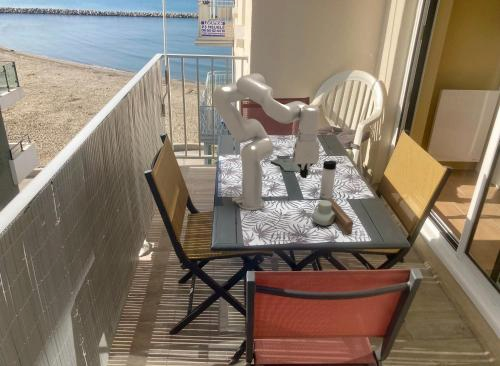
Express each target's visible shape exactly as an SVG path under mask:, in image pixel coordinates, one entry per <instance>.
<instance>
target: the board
mask: <svg viewBox="0 0 500 366" xmlns="http://www.w3.org/2000/svg"><path fill="white" fill-rule="evenodd" d="M326 200H327V201H330V202H331V203H332V207H331V210H332V211H333V212H334V213H335V219H334V221H333V222H334V223H335V224H336V225H337V226H338V228H340V230H341V231H342V232H343V233H344V235H352V234H353V233H352V232H353V227H354V226H353V225H354V221H353V220H352V219H351V217H350V216H349V215H348V214H347V213H346V211H344V209H343V208H342V207H341V206H340V205H339V204H338V203H337V202H336V201H335V199H334V198H333V197H332V198H331V199H326Z"/></svg>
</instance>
